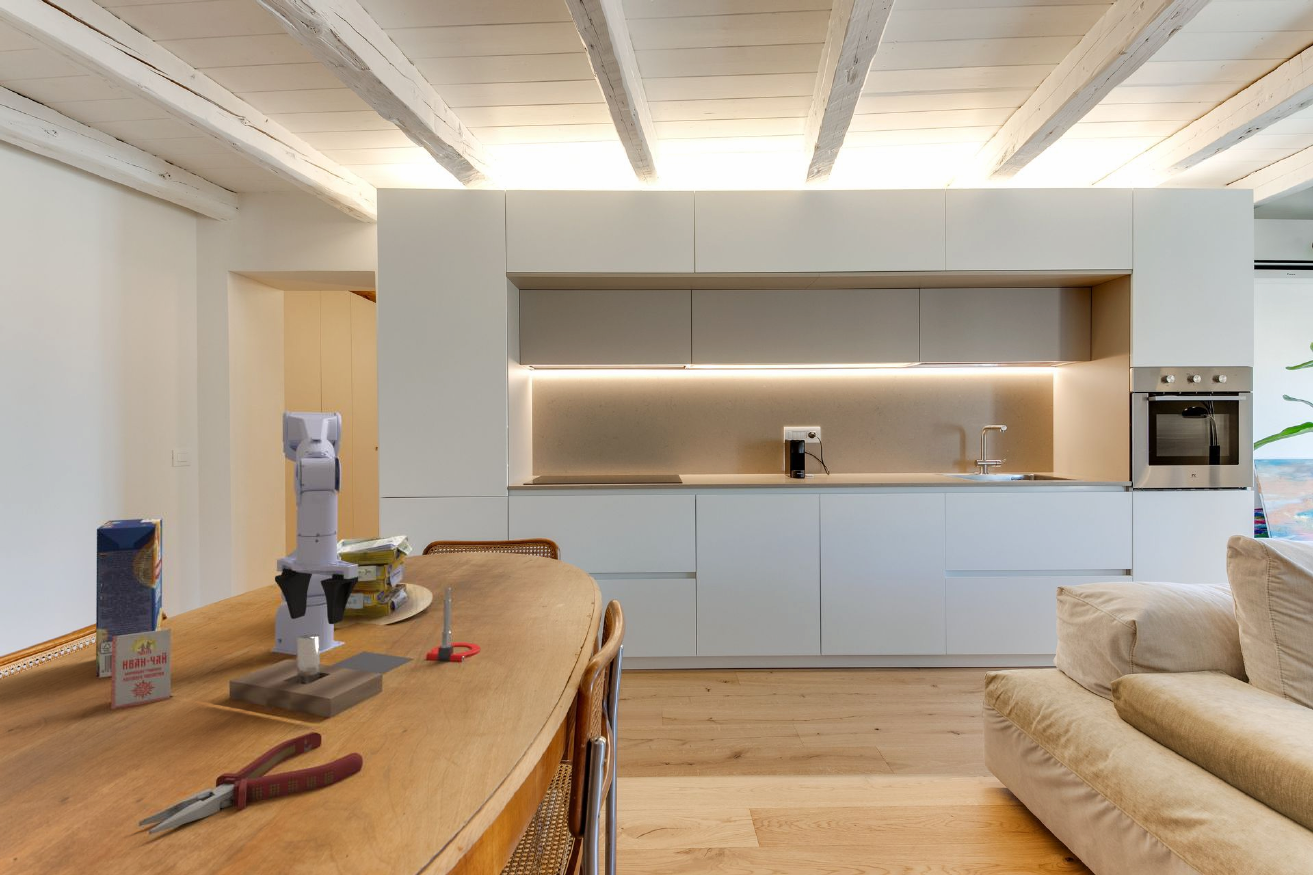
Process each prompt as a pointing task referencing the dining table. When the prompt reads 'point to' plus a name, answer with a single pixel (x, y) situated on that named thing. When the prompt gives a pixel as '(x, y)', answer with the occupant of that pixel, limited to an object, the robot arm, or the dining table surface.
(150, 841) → the dining table surface
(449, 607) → the tow hook
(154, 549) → the juice carton
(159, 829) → the pliers
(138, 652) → the tea bag
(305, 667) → the peg
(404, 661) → the mat
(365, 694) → the hole block
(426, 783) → the dining table surface
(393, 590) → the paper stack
